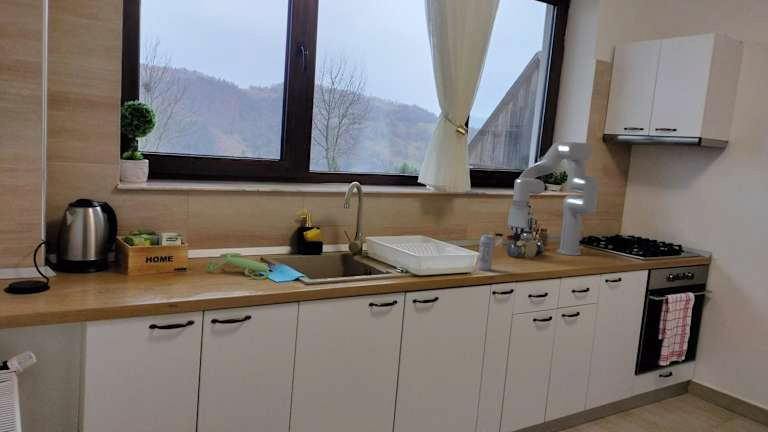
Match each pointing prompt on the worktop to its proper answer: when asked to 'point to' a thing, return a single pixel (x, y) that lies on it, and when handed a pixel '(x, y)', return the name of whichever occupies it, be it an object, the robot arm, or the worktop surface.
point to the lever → (523, 236)
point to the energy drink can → (485, 252)
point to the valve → (525, 248)
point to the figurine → (243, 265)
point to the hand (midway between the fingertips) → (516, 241)
